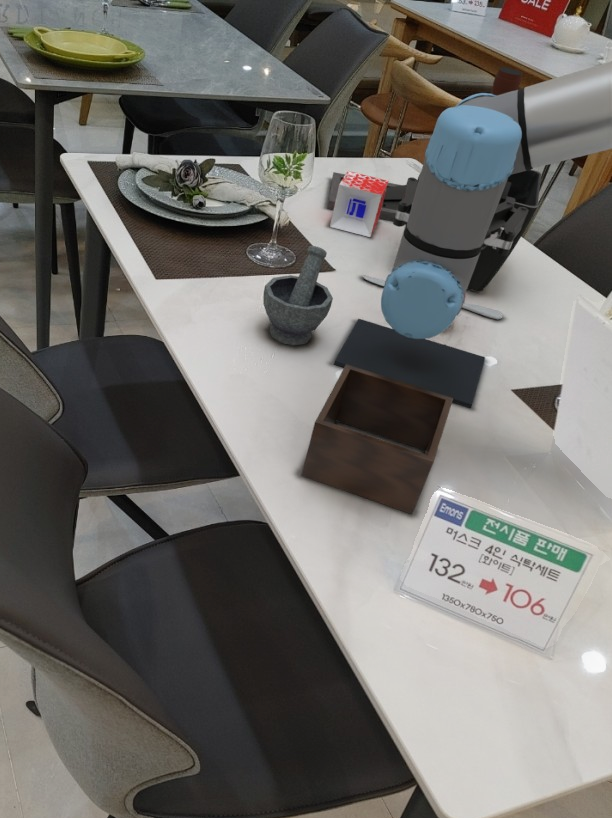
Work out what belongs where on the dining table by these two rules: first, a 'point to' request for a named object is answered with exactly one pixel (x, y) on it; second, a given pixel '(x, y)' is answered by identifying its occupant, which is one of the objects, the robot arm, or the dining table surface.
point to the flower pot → (489, 260)
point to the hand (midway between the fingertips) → (473, 184)
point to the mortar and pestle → (297, 301)
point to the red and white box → (358, 203)
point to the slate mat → (413, 361)
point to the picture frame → (389, 203)
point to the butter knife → (471, 307)
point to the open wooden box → (370, 457)
